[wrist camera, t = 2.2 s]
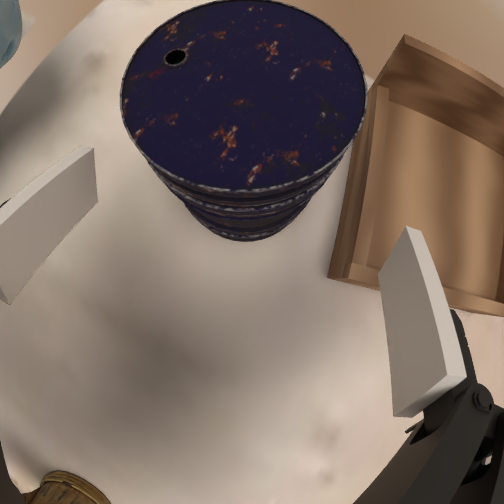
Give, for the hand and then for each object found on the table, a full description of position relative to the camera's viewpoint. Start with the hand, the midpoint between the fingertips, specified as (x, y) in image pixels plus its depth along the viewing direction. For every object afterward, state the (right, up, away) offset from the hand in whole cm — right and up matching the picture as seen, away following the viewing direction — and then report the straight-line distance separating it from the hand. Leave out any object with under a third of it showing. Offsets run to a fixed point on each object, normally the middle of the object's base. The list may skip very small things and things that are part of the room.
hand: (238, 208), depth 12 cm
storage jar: (0, +4, +13) cm, 14 cm away
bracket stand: (+16, +2, +13) cm, 21 cm away
